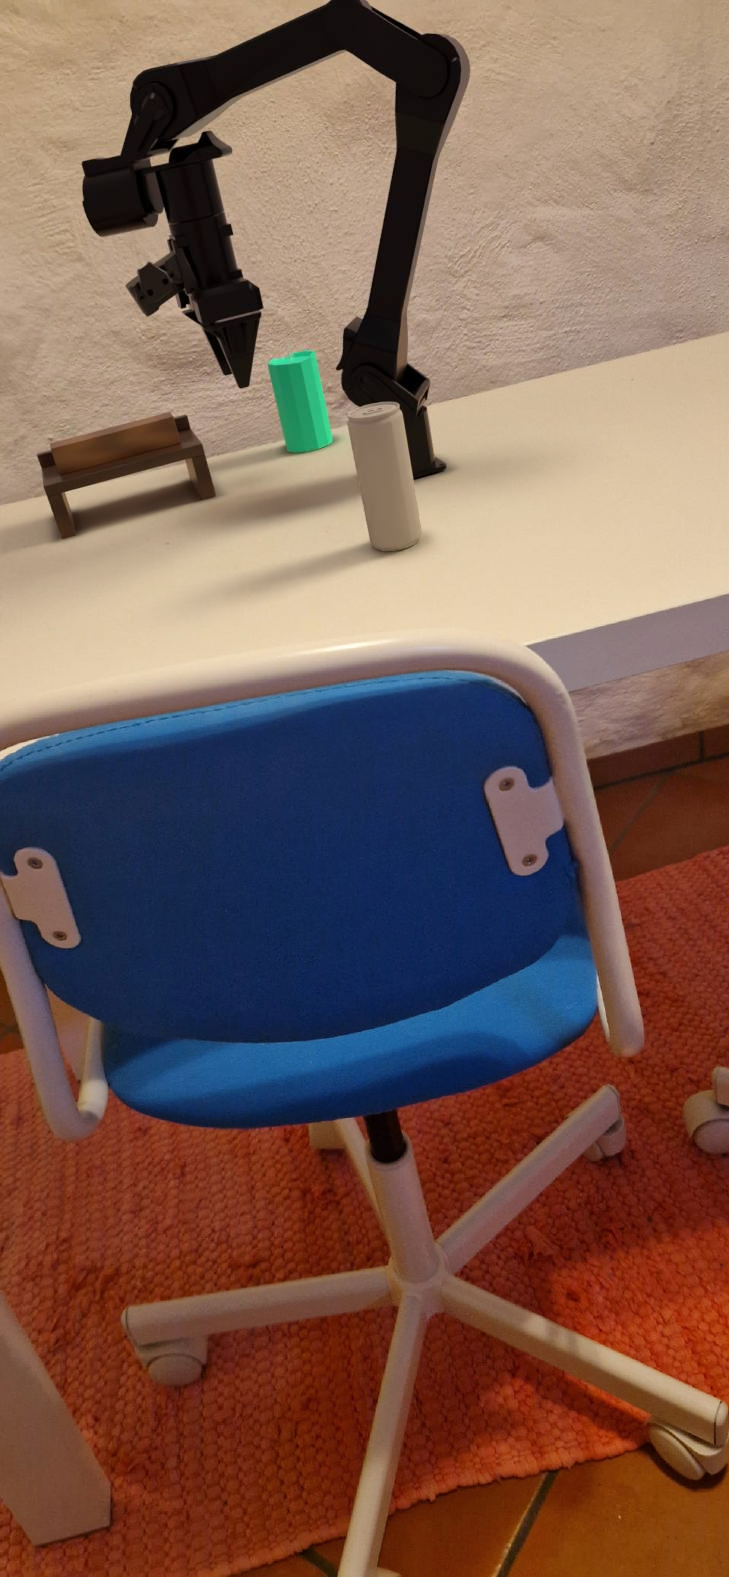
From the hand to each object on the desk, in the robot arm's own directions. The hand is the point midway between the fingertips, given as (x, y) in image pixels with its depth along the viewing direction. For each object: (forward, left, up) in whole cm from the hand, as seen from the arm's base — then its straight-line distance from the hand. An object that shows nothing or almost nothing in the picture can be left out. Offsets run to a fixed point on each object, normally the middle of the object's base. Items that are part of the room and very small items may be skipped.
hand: (236, 381), depth 113 cm
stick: (+7, +14, -6) cm, 17 cm away
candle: (+14, -9, -12) cm, 21 cm away
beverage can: (-28, -7, -12) cm, 31 cm away
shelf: (+8, +14, -12) cm, 20 cm away
